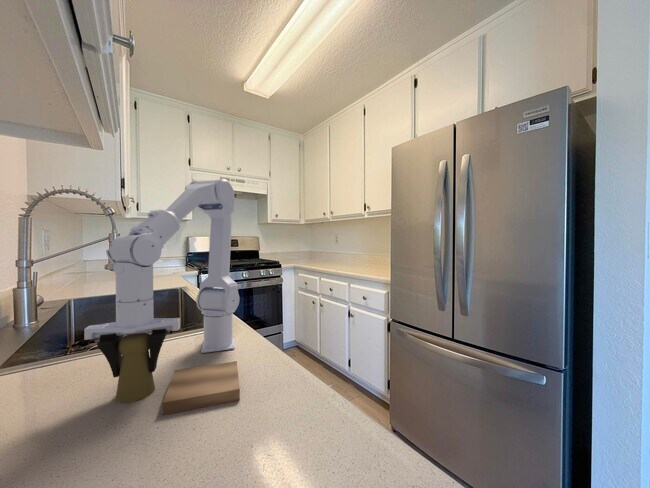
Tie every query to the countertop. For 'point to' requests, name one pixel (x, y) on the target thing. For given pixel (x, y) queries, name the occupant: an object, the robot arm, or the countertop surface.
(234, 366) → the walnut base
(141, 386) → the olive tapered knobbed peg
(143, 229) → the robot arm
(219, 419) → the countertop surface
